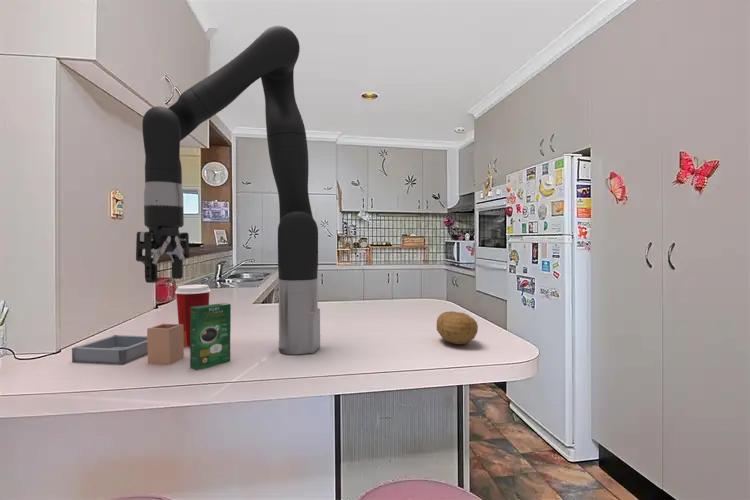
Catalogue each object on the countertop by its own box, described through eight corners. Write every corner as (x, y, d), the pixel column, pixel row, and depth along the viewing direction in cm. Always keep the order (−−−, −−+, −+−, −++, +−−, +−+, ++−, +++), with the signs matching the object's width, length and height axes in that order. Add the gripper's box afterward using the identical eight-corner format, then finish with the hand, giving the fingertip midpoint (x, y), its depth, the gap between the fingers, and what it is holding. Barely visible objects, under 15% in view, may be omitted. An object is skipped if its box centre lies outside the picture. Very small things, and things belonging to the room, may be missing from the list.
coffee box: (224, 360, 91) (223, 301, 90) (232, 363, 89) (231, 302, 88) (189, 370, 84) (188, 306, 84) (197, 373, 82) (196, 307, 82)
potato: (459, 335, 114) (460, 307, 114) (486, 348, 100) (487, 316, 100) (427, 337, 111) (427, 308, 111) (450, 351, 98) (450, 318, 98)
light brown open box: (183, 360, 91) (183, 324, 91) (169, 367, 86) (169, 329, 86) (163, 359, 92) (162, 323, 91) (147, 366, 87) (147, 328, 86)
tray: (160, 351, 98) (160, 336, 98) (123, 367, 86) (122, 350, 86) (115, 349, 99) (115, 334, 99) (72, 364, 88) (71, 348, 87)
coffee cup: (217, 341, 107) (216, 284, 106) (200, 350, 98) (200, 288, 98) (186, 341, 107) (185, 283, 107) (167, 349, 99) (166, 287, 99)
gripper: (157, 202, 80) (159, 284, 81) (199, 207, 94) (200, 277, 95) (123, 202, 81) (124, 283, 82) (169, 207, 95) (170, 277, 96)
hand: (165, 280), depth 88 cm, fingers open, 8 cm apart
